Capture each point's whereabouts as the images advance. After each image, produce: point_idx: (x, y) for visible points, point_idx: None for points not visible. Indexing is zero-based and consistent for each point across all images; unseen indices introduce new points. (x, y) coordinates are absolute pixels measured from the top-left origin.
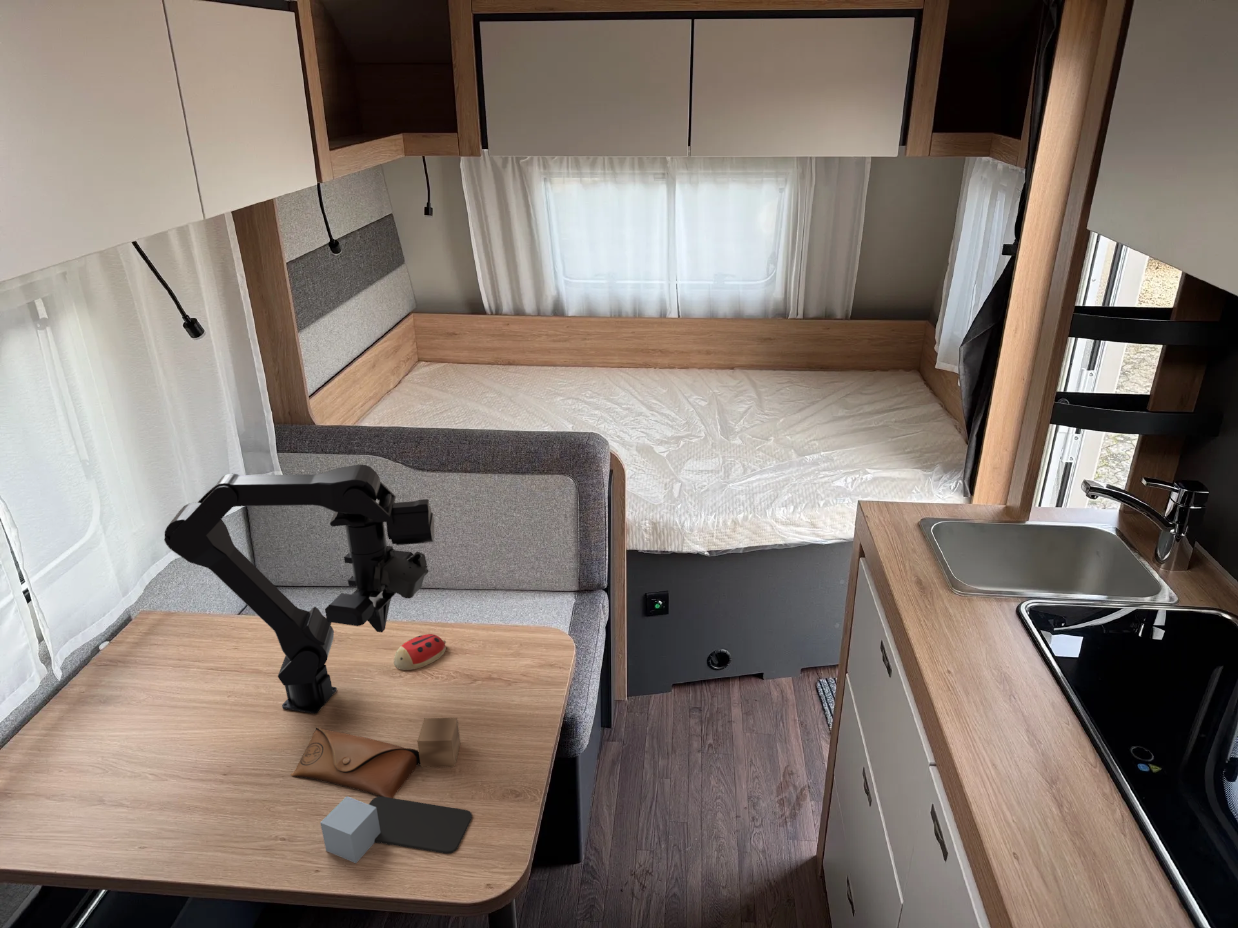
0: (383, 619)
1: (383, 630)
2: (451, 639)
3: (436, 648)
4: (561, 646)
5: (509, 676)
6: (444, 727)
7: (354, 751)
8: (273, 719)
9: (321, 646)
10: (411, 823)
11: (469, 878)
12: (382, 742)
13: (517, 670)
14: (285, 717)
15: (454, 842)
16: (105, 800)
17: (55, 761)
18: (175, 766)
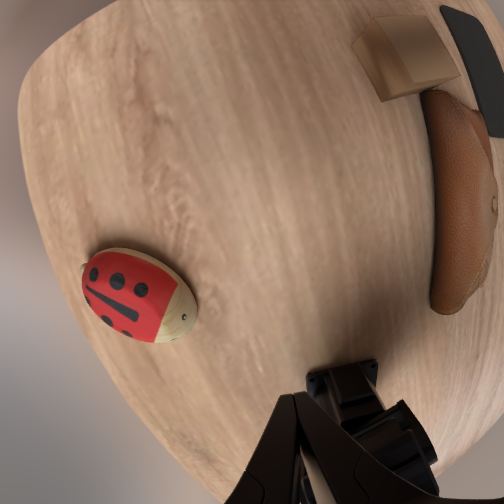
0: (314, 439)
1: (295, 393)
2: (69, 265)
3: (113, 260)
4: (35, 64)
5: (124, 68)
6: (411, 33)
7: (487, 199)
8: (392, 396)
9: (420, 455)
10: (488, 69)
11: (480, 6)
12: (461, 160)
13: (103, 69)
14: (386, 387)
15: (473, 19)
16: (488, 404)
17: (443, 462)
18: (462, 404)
